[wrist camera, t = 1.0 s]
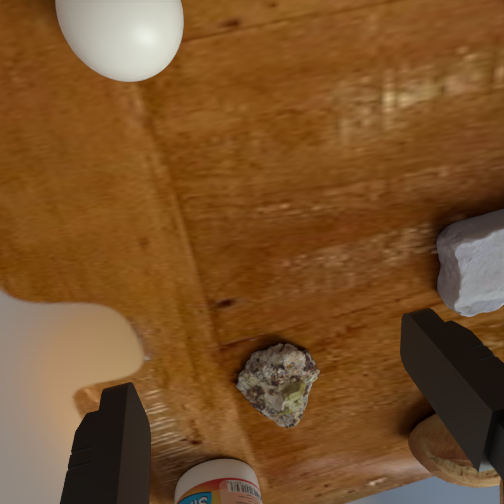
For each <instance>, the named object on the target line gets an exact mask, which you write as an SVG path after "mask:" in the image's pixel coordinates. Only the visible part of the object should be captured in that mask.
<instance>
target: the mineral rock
mask: <svg viewBox="0 0 504 504" xmlns="http://www.w3.org/2000/svg"><path fill="white" fill-rule="evenodd" d="M315 364H316V363H315V362H314V360H313V359H312V357H311V355H310V353H309V351H307V350H304V351H298V347H295V346H294V345H290V344H288V343H287V344H285V345H283V344H281V343H279V344H278V345H276V346H274V347H273V346H271V347H270V348H268V349H267V350H262V351H261V350H260V351H257V352H254V353H253V354H252V356H251V360H248V361H247V363H246V365H245V366H244V369H243V371H242V372H241V373H240V374H239V375H238V376H239V377H238V383H237V385H236V387H237V389H239V390H240V391H241V393H242V394H243V395H244V396H245V399H247V400H248V401H250V402H251V403H250V404H251V405H253V407H254V408H255V409H257V411H260V412H261V414H264V415H265V417H266V416H267V417H268V418H270V419H271V420H274V421H275V422H276V424H277V425H278V426H286V427H287V428H288V427H294V426H296V425H297V424H298V422H299V420H300V419H302V414H303V411H304V410H305V408H306V405H307V404H308V403H307V401H308V394H309V391H310V389H311V386H312V382H314V381H315V380H316V379H317V378H318V376H319V372H320V370H318V368H316V367H315Z"/></svg>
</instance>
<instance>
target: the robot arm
mask: <svg viewBox="0 0 504 504" xmlns="http://www.w3.org/2000/svg"><path fill="white" fill-rule="evenodd" d="M400 355H401V359H402V362H403V365H404V367H405V369H406V371H407V373H408V374H409V375H410V377H411V378H412V380H413V381H414V382H415V384H416V385H417V387H418V388H419V389H420V391H421V392H422V394H423V395H424V397H425V398H426V399H427V401H428V402H429V404H430V405H431V406H432V408H433V409H434V411H435V412H436V413H437V415H438V416H439V418H440V419H441V421H442V422H443V423H444V425H445V426H446V428H447V429H448V430H449V432H450V433H451V435H452V436H453V437H454V439H455V440H456V442H457V443H458V444H459V446H460V447H461V449H462V450H463V452H464V453H465V454H466V456H467V457H468V459H469V460H470V461H471V463H472V464H473V466H474V467H475V468H476V470H477V471H478V473H479V472H482V471H486V470H489V469H492V468H494V469H495V471H496V472H497V473H498V475H499V476H500V477H501V480H500V504H504V363H503V362H502V361H501V360H500V359H499V358H498V357H495V356H494V353H493V352H492V351H491V350H490V349H489V348H488V347H487V346H484V345H483V342H481V341H480V340H479V339H478V338H477V337H476V336H475V335H474V334H473V333H472V332H471V331H470V330H469V329H467V328H465V327H463V326H461V325H459V324H458V323H456V322H454V321H448V322H444V321H443V320H442V319H441V318H440V317H439V316H438V315H437V314H436V313H435V312H434V311H433V310H432V309H430V308H425V309H421V310H418V311H414V312H410V313H406V314H404V315H403V316H402V324H401V344H400ZM71 452H72V455H70V459H69V464H68V471H67V473H66V478H65V482H64V488H63V492H62V496H61V501H60V504H149V492H150V455H151V432H150V425H149V421H148V418H147V415H146V413H145V410H144V408H143V406H142V403H141V401H140V399H139V396H138V394H137V392H136V389H135V387H134V385H133V383H131V382H129V383H125V384H121V385H117V386H113V387H109V388H105V389H103V391H102V394H101V400H100V406H99V410H98V411H94V412H90V413H87V414H86V415H85V417H84V419H83V420H82V422H81V424H80V425H79V427H78V428H77V430H76V432H75V436H74V441H73V446H72V450H71Z"/></svg>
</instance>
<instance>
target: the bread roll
mask: <svg viewBox="0 0 504 504" xmlns="http://www.w3.org/2000/svg"><path fill="white" fill-rule="evenodd" d="M408 444H409V447H410V450H411V452H412V454H413V456H414V457H415V458H416V459H417V460H418V461H419V462H420V463H421V464H422V465H423V466H424V467H425V468H426V469H427V470H428V471H429V472H430V473H432V474H433V475H435V476H436V477H438V478H440V479H443V480H445V481H447V482H450V483H454V484H457V485H461V486H468V487H491V486H496V485H500V480H501V477H500V476H499V475H498V473H497V472H496V471H495V469H494V468H492V469H489V470H486V471H482V472H479V473H478V471H477V470H476V468H475V467H474V466H473V464H472V463H471V461H470V460H469V459H468V457H467V456H466V454H465V453H464V452H463V450H462V449H461V447H460V446H459V444H458V443H457V442H456V440H455V439H454V437H453V436H452V435H451V433H450V432H449V430H448V429H447V428H446V426H445V425H444V423H443V422H442V421H441V419H440V418H439V416H438V415H437V413H436V414H434V415H432V416H430V417H428V418H427V419H425V420H423V421H422V422H420V423H419V424H417V426H416V427H415V428H414V429H413V430H412V432H411V433H410V435H409V439H408Z"/></svg>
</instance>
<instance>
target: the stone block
mask: <svg viewBox="0 0 504 504" xmlns="http://www.w3.org/2000/svg"><path fill="white" fill-rule="evenodd" d="M436 247H437V251H438V256H439V261H440V262H441V269H440V273H439V276H438V284H437V291H438V293H439V295H440V296H441V298H442V300H443V302H444V303H445V304H446V305H447V306H448V307H449V308H450V309H452V310H454V311H455V312H457V313H458V314H460V315H463V316H468V317H471V316H474V315H476V314H478V313H481V312H490V311H494V310H496V309H499V308H500V307H501V306H502V305H504V209H500V210H497V211H493V212H489V213H487V214H484V215H481V216H476V217H472V218H468V219H465V220H461V221H458V222H455V223H452V224H451V225H449V226H447V227H446V229H445V230H443V231H442V232H440V233H439V235H438V236H437V242H436Z"/></svg>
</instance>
